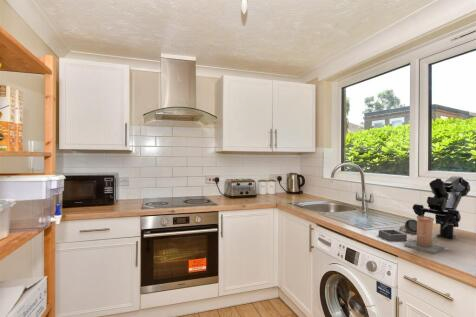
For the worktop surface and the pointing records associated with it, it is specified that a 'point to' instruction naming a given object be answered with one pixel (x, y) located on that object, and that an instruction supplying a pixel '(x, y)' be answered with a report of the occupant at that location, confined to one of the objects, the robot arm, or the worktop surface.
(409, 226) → the ceramic mug
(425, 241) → the peach rounded cylinder
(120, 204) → the worktop surface
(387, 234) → the holder
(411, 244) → the mat
